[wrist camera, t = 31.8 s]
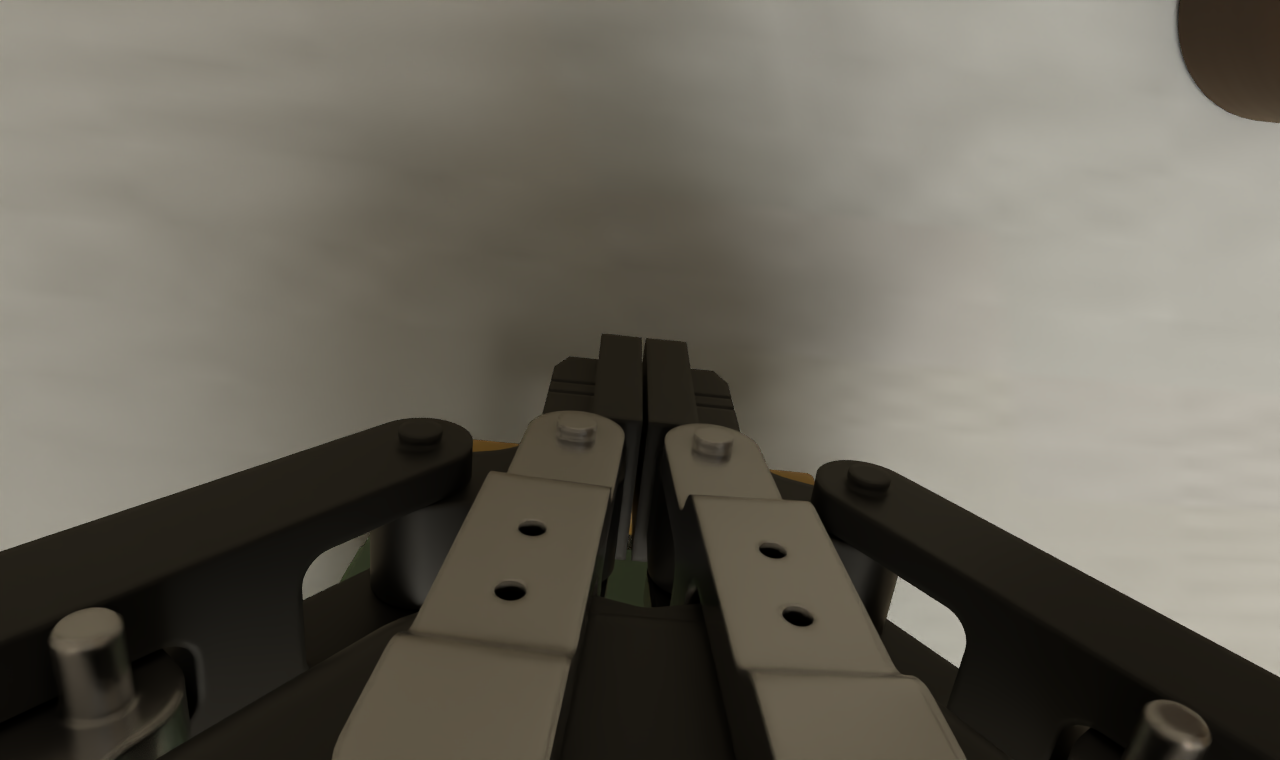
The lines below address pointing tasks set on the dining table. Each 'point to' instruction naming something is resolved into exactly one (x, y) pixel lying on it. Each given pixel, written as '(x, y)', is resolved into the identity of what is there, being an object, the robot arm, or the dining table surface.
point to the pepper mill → (1234, 54)
